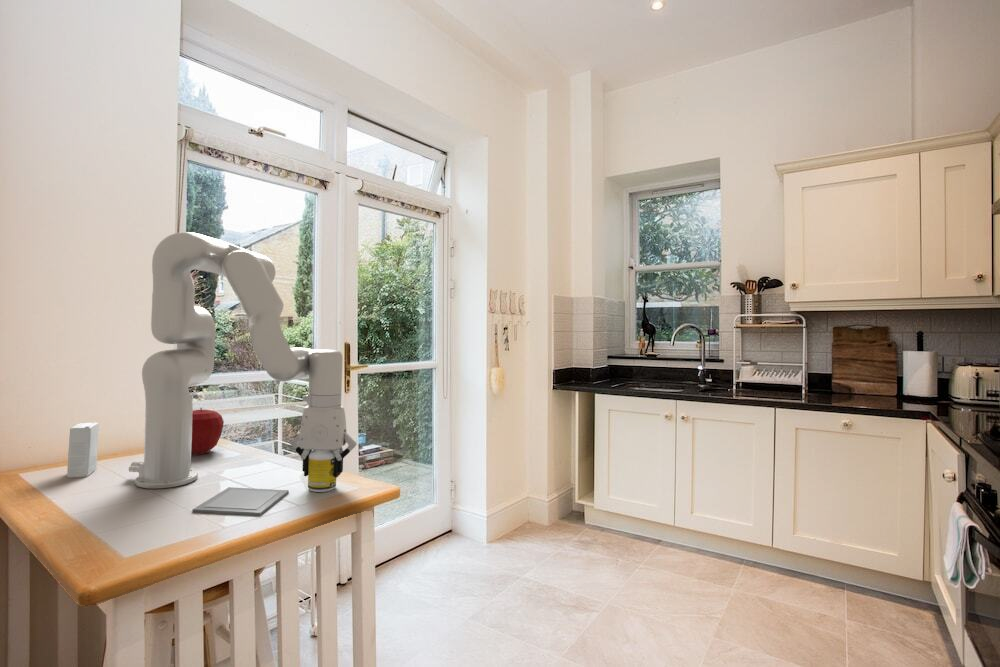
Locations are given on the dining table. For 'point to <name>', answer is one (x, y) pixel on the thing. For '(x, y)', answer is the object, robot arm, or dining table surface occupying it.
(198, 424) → the apple
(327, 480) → the pill bottle
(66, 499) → the dining table surface
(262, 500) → the coaster
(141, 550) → the dining table surface
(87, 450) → the skincare box
